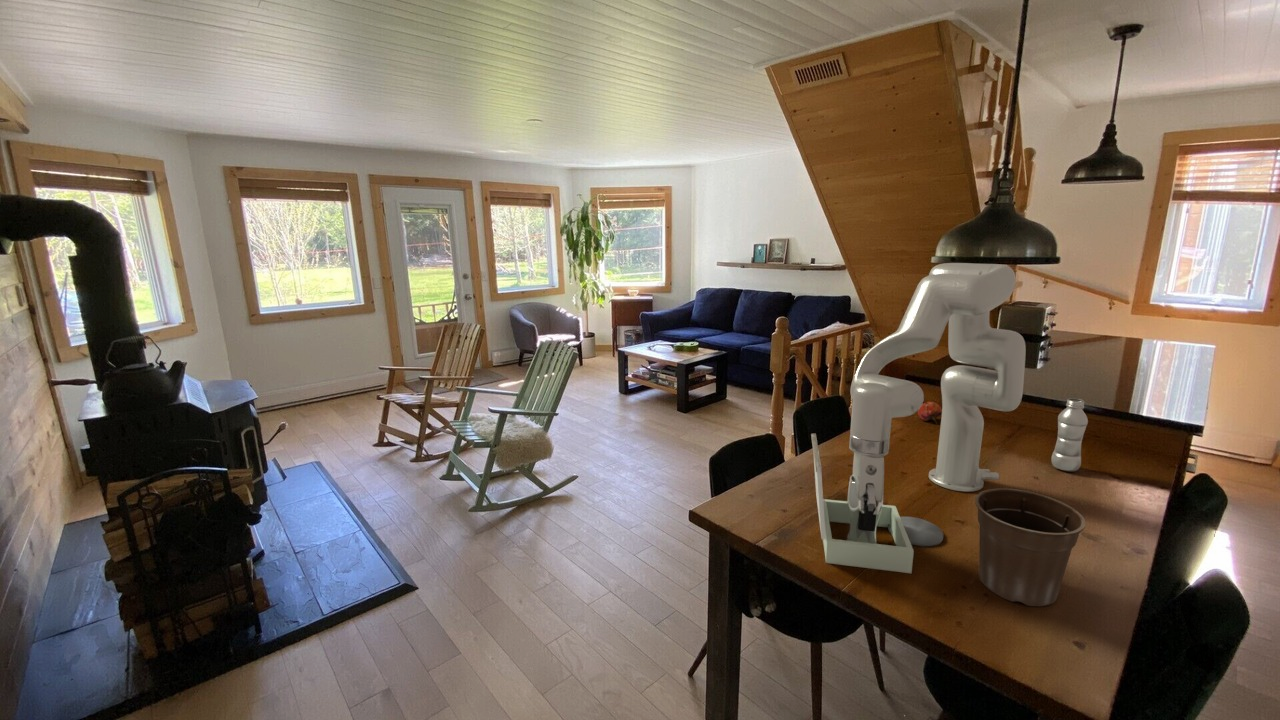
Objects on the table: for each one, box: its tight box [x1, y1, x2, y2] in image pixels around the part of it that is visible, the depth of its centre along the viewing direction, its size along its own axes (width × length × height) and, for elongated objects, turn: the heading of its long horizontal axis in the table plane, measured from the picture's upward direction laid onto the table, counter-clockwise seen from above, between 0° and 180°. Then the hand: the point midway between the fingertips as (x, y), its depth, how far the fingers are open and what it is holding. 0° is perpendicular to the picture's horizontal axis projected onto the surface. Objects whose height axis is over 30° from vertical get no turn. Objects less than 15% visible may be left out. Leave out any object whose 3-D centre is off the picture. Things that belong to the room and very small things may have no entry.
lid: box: [810, 433, 826, 541], centre depth 115 cm, size 16×18×1 cm
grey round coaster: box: [887, 516, 944, 547], centre depth 119 cm, size 11×11×1 cm
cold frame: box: [822, 498, 915, 574], centre depth 115 cm, size 16×18×5 cm
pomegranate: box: [917, 400, 942, 425], centre depth 186 cm, size 7×7×10 cm
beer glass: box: [846, 474, 884, 544], centre depth 113 cm, size 7×7×15 cm
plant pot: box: [974, 488, 1086, 607], centre depth 98 cm, size 16×16×16 cm
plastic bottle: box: [1051, 397, 1089, 472], centre depth 145 cm, size 6×7×20 cm
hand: (862, 518), depth 113 cm, fingers open, 9 cm apart
